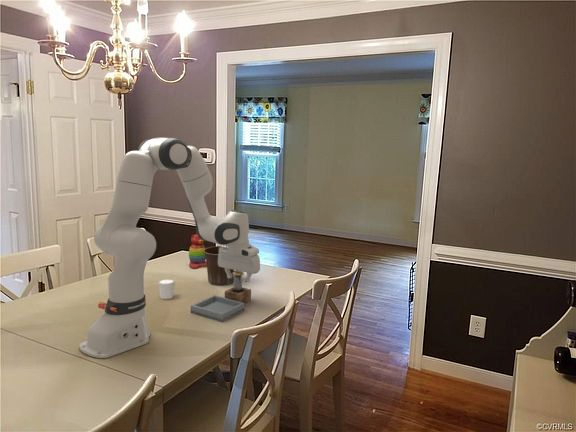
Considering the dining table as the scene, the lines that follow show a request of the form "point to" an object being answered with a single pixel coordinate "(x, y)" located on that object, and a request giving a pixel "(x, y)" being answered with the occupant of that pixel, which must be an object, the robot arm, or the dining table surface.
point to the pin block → (239, 295)
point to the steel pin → (238, 280)
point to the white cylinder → (166, 288)
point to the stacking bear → (197, 253)
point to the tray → (217, 308)
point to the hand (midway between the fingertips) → (238, 279)
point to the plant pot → (216, 268)
